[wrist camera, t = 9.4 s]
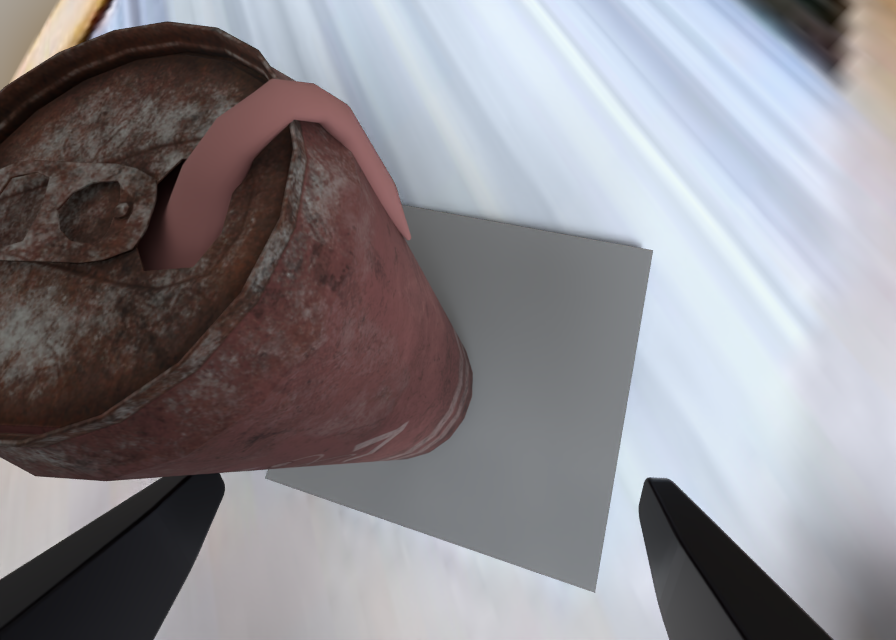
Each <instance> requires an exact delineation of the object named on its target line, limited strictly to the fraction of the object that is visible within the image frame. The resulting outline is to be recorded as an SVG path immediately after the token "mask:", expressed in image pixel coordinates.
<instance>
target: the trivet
mask: <svg viewBox="0 0 896 640" xmlns="http://www.w3.org/2000/svg"><path fill="white" fill-rule="evenodd" d="M402 208H403V211H404V214H405V218H406V221H407V224H408V228H409V231H410V234H411V239H410V240H406V239H405V240H406V242H407V244H408V246H409V248H410V249H411V251H412V253H413V255H414V257H415V259H416V260H417V262H418V264H419V266H420V268H421V269H422V271H423V273H424V275H425V277H426V279H427V280H428V282H429V284H430V286H431V288H432V289H433V291H434V293H435V295H436V297H437V299H438V300H439V302H440V304H441V306H442V308H443V310H444V311H445V313H446V315H447V317H448V319H449V320H450V322H451V324H452V326H453V328H454V330H455V331H456V333H457V335H458V337H459V339H460V341H461V342H462V344H463V346H464V348H465V350H466V352H467V355H468V358H469V362H470V365H471V368H472V372H473V385H472V398H471V401H470V404H469V407H468V410H467V413H466V415H465V418H464V420H463V421H462V423H461V424H460V425H459V427H458V428H457V429H456V431H455V432H454V433H453V435H452V436H451V437H450V439H448V440H447V441H445V442H444V443H442V444H441V445H440V446H438V447H437V448H435V449H434V450H433V451H431V452H430V453H426V454H423V455H419V456H416V457H413V458H409V459H403V460H389V461H375V462H362V463H348V464H334V465H320V466H307V467H293V468H279V469H268V471H267V474H266V477H265V478H266V479H268V480H271V481H274V482H277V483H280V484H283V485H286V486H289V487H292V488H294V489H297V490H300V491H303V492H306V493H309V494H312V495H315V496H318V497H320V498H323V499H326V500H329V501H332V502H335V503H338V504H341V505H343V506H346V507H349V508H352V509H355V510H358V511H361V512H364V513H367V514H369V515H372V516H375V517H378V518H381V519H384V520H387V521H390V522H393V523H395V524H398V525H401V526H404V527H407V528H410V529H413V530H416V531H419V532H421V533H424V534H427V535H430V536H433V537H436V538H439V539H442V540H444V541H447V542H450V543H453V544H456V545H459V546H462V547H465V548H468V549H470V550H473V551H476V552H479V553H482V554H485V555H488V556H491V557H494V558H496V559H499V560H502V561H505V562H508V563H511V564H514V565H517V566H519V567H522V568H525V569H528V570H531V571H534V572H537V573H540V574H543V575H545V576H548V577H551V578H554V579H557V580H560V581H563V582H566V583H569V584H571V585H574V586H577V587H580V588H583V589H586V590H589V591H592V592H594V593H595V589H596V583H597V577H598V572H599V566H600V560H601V554H602V548H603V542H604V536H605V530H606V524H607V519H608V513H609V507H610V501H611V495H612V489H613V483H614V477H615V471H616V466H617V460H618V454H619V448H620V442H621V436H622V430H623V424H624V418H625V413H626V407H627V401H628V395H629V389H630V383H631V377H632V371H633V365H634V360H635V354H636V348H637V342H638V336H639V330H640V324H641V318H642V312H643V307H644V301H645V295H646V289H647V283H648V277H649V271H650V265H651V259H652V254H653V250H648V249H643V248H637V247H632V246H627V245H621V244H616V243H610V242H605V241H599V240H594V239H588V238H583V237H577V236H572V235H566V234H561V233H555V232H550V231H544V230H539V229H533V228H528V227H522V226H517V225H511V224H506V223H500V222H495V221H489V220H484V219H478V218H473V217H467V216H462V215H456V214H451V213H445V212H440V211H434V210H429V209H423V208H418V207H412V206H407V205H402Z"/></svg>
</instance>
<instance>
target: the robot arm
mask: <svg viewBox="0 0 896 640" xmlns="http://www.w3.org/2000/svg"><path fill="white" fill-rule="evenodd" d="M224 492H225V484H224V482H223V480H222V478H221V475H220V473H210V474H197V475H183V476H169V477H162V478H160V479H159V480H157V481H156V482H154V483H152V484H151V485H149V486H148V487H146V488H145V489H143V490H141V491H140V492H138V493H137V494H135V495H133V496H132V497H130V498H129V499H127V500H126V501H124V502H122V503H121V504H119V505H118V506H116V507H114V508H113V509H111V510H110V511H108V512H107V513H105V514H103V515H102V516H100V517H99V518H97V519H95V520H94V521H92V522H91V523H89V524H88V525H86V526H84V527H83V528H81V529H80V530H78V531H76V532H75V533H73V534H72V535H70V536H69V537H67V538H65V539H64V540H62V541H61V542H59V543H58V544H56V545H54V546H53V547H51V548H50V549H48V550H46V551H45V552H43V553H42V554H40V555H39V556H37V557H35V558H34V559H32V560H31V561H29V562H27V563H26V564H24V565H23V566H21V567H20V568H18V569H16V570H15V571H13V572H12V573H10V574H8V575H7V576H5V577H4V578H2V579H1V580H0V640H154V638H155V636H156V634H157V632H158V631H159V629H160V627H161V625H162V623H163V621H164V619H165V618H166V616H167V614H168V612H169V610H170V608H171V606H172V605H173V603H174V601H175V599H176V597H177V595H178V593H179V592H180V590H181V588H182V586H183V584H184V582H185V580H186V578H187V577H188V575H189V573H190V571H191V569H192V567H193V565H194V562H195V560H196V558H197V556H198V554H199V551H200V549H201V547H202V544H203V542H204V540H205V537H206V535H207V533H208V531H209V528H210V526H211V524H212V521H213V519H214V517H215V514H216V512H217V510H218V507H219V505H220V503H221V500H222V498H223V496H224ZM639 518H640V523H641V528H642V532H643V537H644V542H645V546H646V551H647V556H648V560H649V565H650V569H651V574H652V579H653V583H654V588H655V592H656V597H657V601H658V605H659V608H660V612H661V615H662V618H663V622H664V625H665V628H666V631H667V634H668V637H669V640H833V639H832V638H831V637H830V636H829V635H828V634H827V633H826V632H825V631H824V630H823V629H822V628H821V627H820V626H819V625H818V624H817V623H816V622H815V621H814V620H813V619H812V618H811V617H810V616H809V615H808V614H807V613H806V612H805V611H804V610H803V609H802V608H801V607H800V606H799V605H798V604H797V603H796V602H795V601H794V600H793V599H792V598H791V597H790V596H789V595H788V594H787V593H786V592H785V591H784V590H783V589H782V588H781V587H780V586H779V585H778V584H777V583H776V582H774V581H773V580H772V579H771V578H770V577H769V576H768V575H767V574H766V573H765V572H764V571H763V570H762V569H761V568H760V567H759V566H758V565H757V564H756V563H755V562H754V561H753V560H752V559H751V558H750V557H749V556H748V555H747V554H746V553H745V552H744V551H743V550H742V549H741V548H740V547H739V546H738V545H737V544H736V543H735V542H734V541H733V540H732V539H731V538H730V537H729V536H728V535H727V534H726V533H725V532H724V531H723V530H722V529H721V528H720V527H719V526H718V525H717V524H716V523H715V522H714V521H713V520H712V519H711V518H710V517H708V516H707V515H706V514H705V513H704V512H703V511H702V510H701V509H700V508H699V507H698V506H697V505H696V504H695V503H694V502H693V501H692V500H691V499H690V498H689V497H688V496H687V495H686V494H685V493H684V492H683V491H682V490H681V489H680V488H679V487H678V486H677V485H676V484H675V483H674V482H673V481H671V480H670V479H667V478H651V477H650V478H647V479H646V480H645V482H644V485H643V490H642V494H641V498H640V502H639Z"/></svg>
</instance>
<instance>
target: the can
mask: <svg viewBox="0 0 896 640" xmlns="http://www.w3.org/2000/svg"><path fill="white" fill-rule="evenodd" d="M405 239H406V240H410V239H411V234H410V231H409V228H408V224H407V221H406V218H405V214H404V211H403V208H402V204H401V201H400V198H399V195H398V191H397V188H396V185H395V183H394V181H393V179H392V178H391V176H390V174H389V173H388V171H387V169H386V167H385V166H384V164H383V162H382V161H381V159H380V157H379V156H378V154H377V152H376V151H375V149H374V147H373V145H372V144H371V142H370V140H369V139H368V137H367V135H366V134H365V132H364V130H363V129H362V127H361V125H360V123H359V122H358V120H357V118H356V117H355V115H354V113H353V112H352V110H351V108H350V107H349V106H348V105H347V104H346V103H344V102H342V101H341V100H339V99H338V98H336V97H334V96H333V95H331V94H330V93H328V92H326V91H325V90H323V89H322V88H320V87H318V86H317V85H315V84H313V83H305V82H297V81H295V80H293V79H291V78H290V77H288V76H286V75H284V74H283V73H281V72H279V71H278V70H276V69H274V68H273V67H271V66H270V65H269V63H268V62H267V61H266V59H265V58H264V56H263V55H262V54H261V52H260V51H259V50H258V49H256V48H254V47H252V46H250V45H248V44H247V43H245V42H243V41H241V40H239V39H237V38H236V37H234V36H232V35H230V34H228V33H226V32H225V31H223V30H221V29H219V28H216V27H208V26H200V25H192V24H184V23H176V22H161V23H155V24H149V25H143V26H137V27H131V28H125V29H119V30H113V31H111V32H108V33H106V34H103V35H101V36H98V37H96V38H93V39H91V40H88V41H86V42H83V43H81V44H78V45H76V46H73V47H71V48H68V49H66V50H63V51H61V52H59V53H57V54H55V55H54V56H52V57H51V58H49V59H48V60H46V61H44V62H43V63H41V64H40V65H38V66H37V67H35V68H33V69H32V70H30V71H29V72H27V73H26V74H24V75H22V76H21V77H19V78H18V79H16V80H15V81H13V82H11V83H10V84H8V85H7V86H5V87H4V88H3V89H2V90H1V91H0V457H1V458H3V459H5V460H7V461H8V462H10V463H12V464H14V465H16V466H18V467H20V468H21V469H23V470H25V471H27V472H29V473H31V474H33V475H34V476H41V477H55V478H69V479H84V480H98V481H114V480H128V479H142V478H155V477H169V476H183V475H197V474H210V473H224V472H238V471H252V470H265V469H279V468H293V467H307V466H320V465H334V464H348V463H362V462H375V461H389V460H403V459H409V458H413V457H416V456H419V455H423V454H426V453H430V452H431V451H433V450H434V449H435V448H437V447H438V446H440V445H441V444H442V443H444V442H445V441H447V440H448V439H450V437H451V436H452V435H453V433H454V432H455V431H456V429H457V428H458V427H459V425H460V424H461V423H462V421H463V420H464V418H465V415H466V413H467V410H468V407H469V404H470V401H471V398H472V385H473V372H472V368H471V365H470V362H469V358H468V355H467V352H466V350H465V348H464V346H463V344H462V342H461V341H460V339H459V337H458V335H457V333H456V331H455V330H454V328H453V326H452V324H451V322H450V320H449V319H448V317H447V315H446V313H445V311H444V310H443V308H442V306H441V304H440V302H439V300H438V299H437V297H436V295H435V293H434V291H433V289H432V288H431V286H430V284H429V282H428V280H427V279H426V277H425V275H424V273H423V271H422V269H421V268H420V266H419V264H418V262H417V260H416V259H415V257H414V255H413V253H412V251H411V249H410V248H409V246H408V244H407V242H406V240H405Z"/></svg>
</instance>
